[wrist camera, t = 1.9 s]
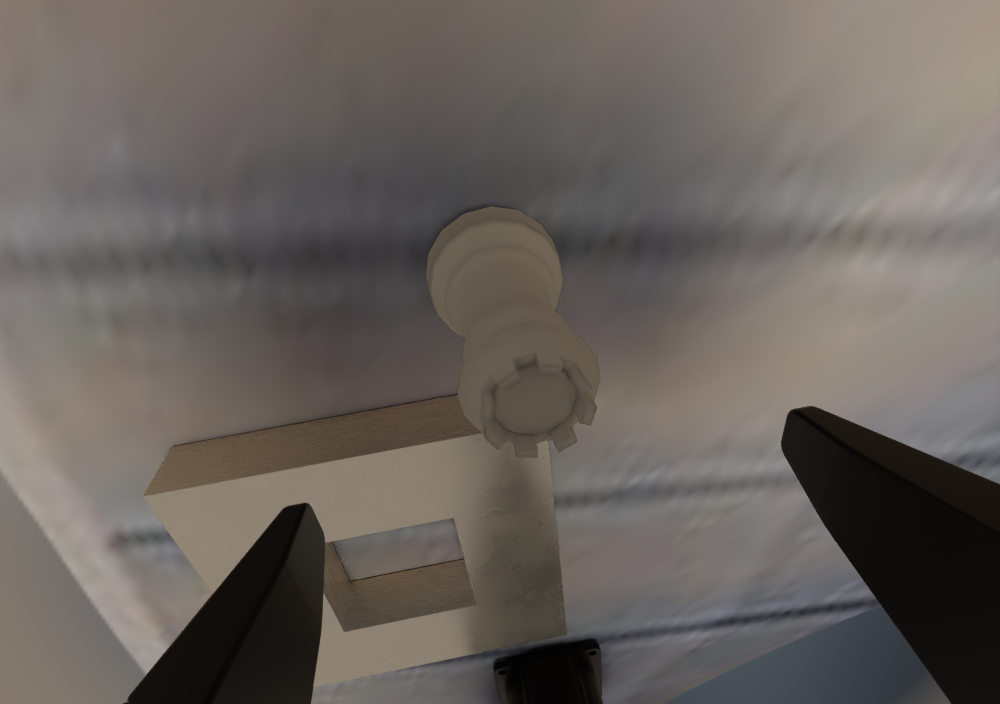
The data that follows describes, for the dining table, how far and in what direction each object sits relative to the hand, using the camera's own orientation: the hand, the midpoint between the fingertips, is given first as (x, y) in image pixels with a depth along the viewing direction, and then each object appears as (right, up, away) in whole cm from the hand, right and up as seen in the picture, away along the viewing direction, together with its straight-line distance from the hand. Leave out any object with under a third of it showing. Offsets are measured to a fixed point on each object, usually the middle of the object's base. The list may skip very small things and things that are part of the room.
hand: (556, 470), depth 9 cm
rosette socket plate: (-6, -6, +14) cm, 16 cm away
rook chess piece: (-1, +5, +8) cm, 10 cm away
